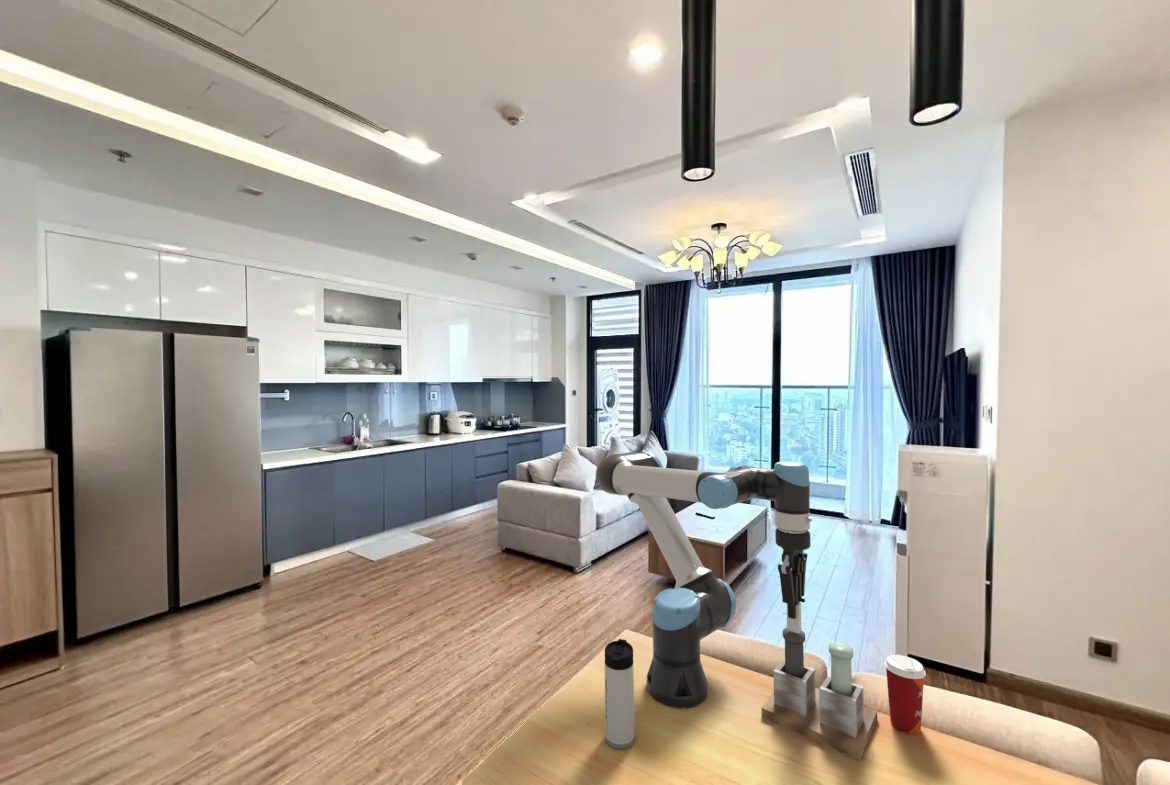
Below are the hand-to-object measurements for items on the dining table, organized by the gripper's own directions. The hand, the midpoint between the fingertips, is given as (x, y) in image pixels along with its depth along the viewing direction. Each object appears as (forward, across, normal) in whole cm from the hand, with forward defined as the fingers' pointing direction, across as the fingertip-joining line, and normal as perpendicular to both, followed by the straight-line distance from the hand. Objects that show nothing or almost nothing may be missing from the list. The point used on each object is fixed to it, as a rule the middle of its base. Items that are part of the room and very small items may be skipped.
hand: (794, 630), depth 112 cm
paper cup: (+19, +11, -20) cm, 30 cm away
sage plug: (+12, 0, -10) cm, 15 cm away
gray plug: (+12, 0, 0) cm, 12 cm away
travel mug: (+19, -34, +25) cm, 46 cm away
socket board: (+19, +1, -5) cm, 20 cm away
